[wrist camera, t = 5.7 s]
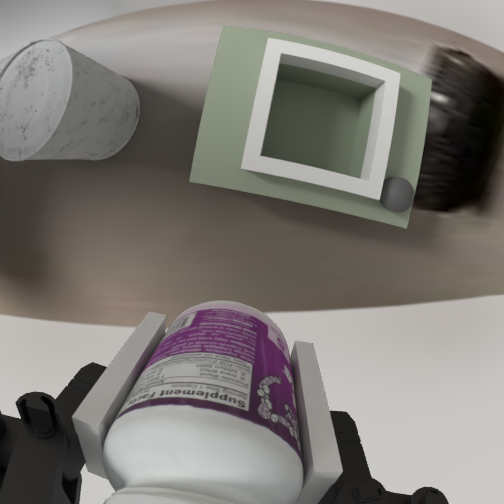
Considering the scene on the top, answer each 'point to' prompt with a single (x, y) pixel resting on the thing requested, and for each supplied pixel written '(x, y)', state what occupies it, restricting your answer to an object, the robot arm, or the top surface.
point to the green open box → (312, 125)
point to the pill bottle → (210, 416)
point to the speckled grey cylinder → (63, 105)
